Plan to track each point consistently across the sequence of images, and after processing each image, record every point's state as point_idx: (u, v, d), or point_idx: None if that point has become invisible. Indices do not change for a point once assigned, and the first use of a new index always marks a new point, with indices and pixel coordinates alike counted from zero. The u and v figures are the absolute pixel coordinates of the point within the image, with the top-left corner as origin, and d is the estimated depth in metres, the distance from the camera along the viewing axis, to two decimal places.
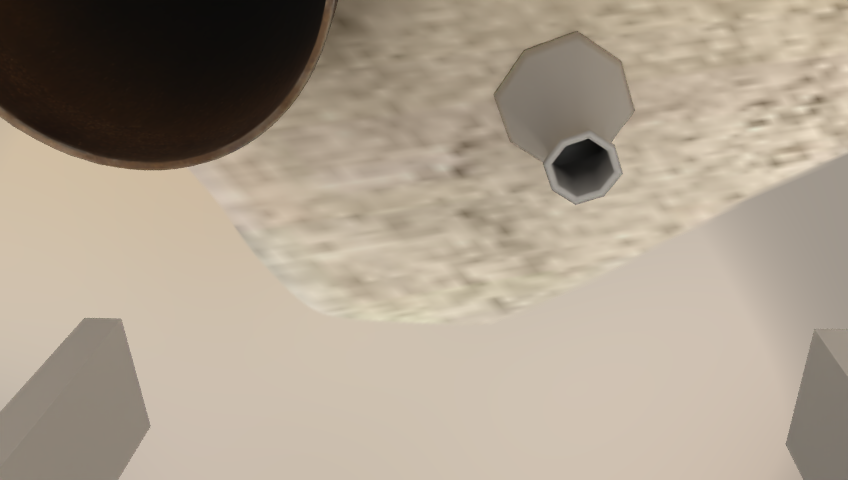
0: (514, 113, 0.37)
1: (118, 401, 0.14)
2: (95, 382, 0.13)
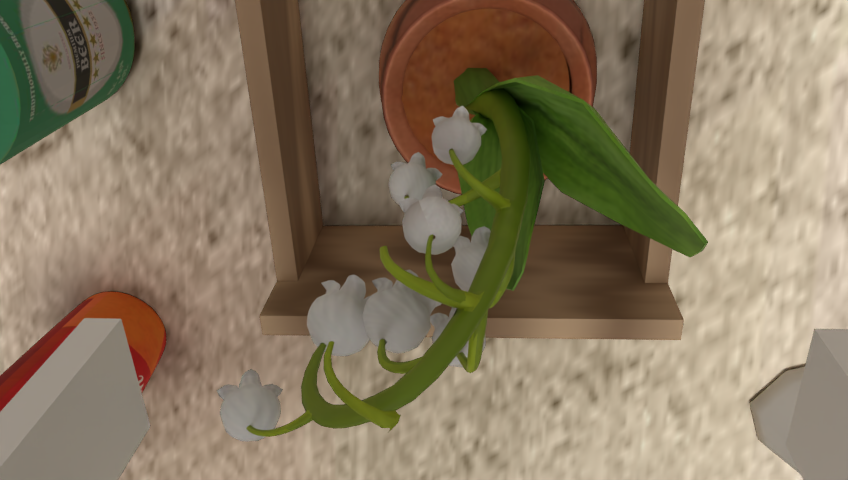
0: None
1: (118, 401, 0.14)
2: (95, 382, 0.13)
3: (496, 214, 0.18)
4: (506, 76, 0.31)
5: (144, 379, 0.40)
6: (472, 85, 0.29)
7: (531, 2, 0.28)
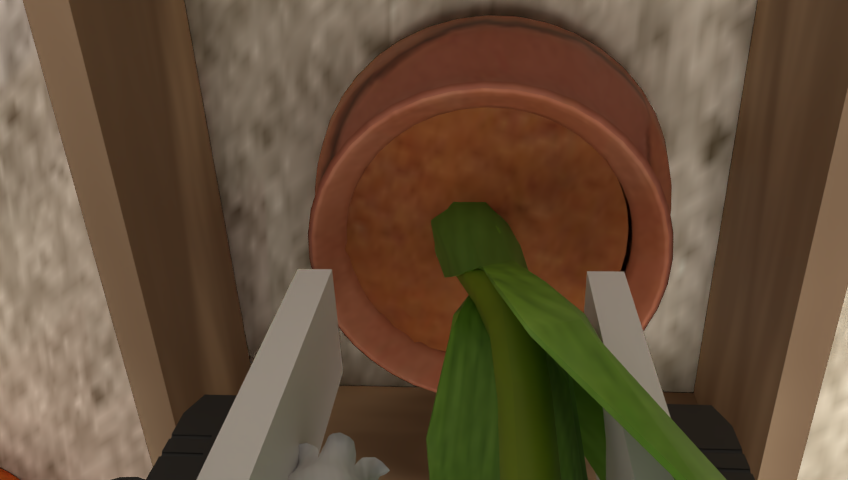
0: None
1: (331, 344, 0.15)
2: (321, 324, 0.15)
3: None
4: (519, 214, 0.18)
5: None
6: (458, 245, 0.16)
7: (564, 102, 0.16)
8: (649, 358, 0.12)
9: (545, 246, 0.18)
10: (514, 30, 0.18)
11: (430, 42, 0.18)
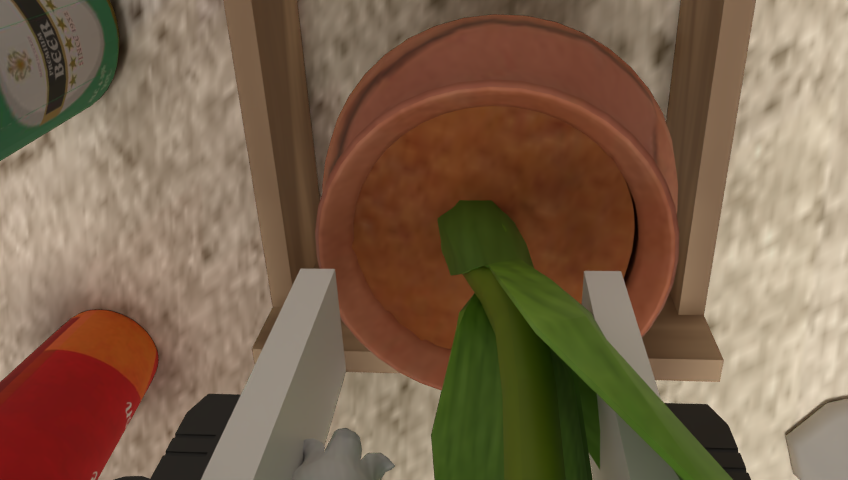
0: None
1: (334, 343, 0.15)
2: (324, 323, 0.15)
3: None
4: (526, 212, 0.18)
5: (133, 405, 0.38)
6: (464, 243, 0.17)
7: (570, 101, 0.16)
8: (645, 357, 0.12)
9: (551, 245, 0.18)
10: (521, 29, 0.18)
11: (437, 41, 0.18)
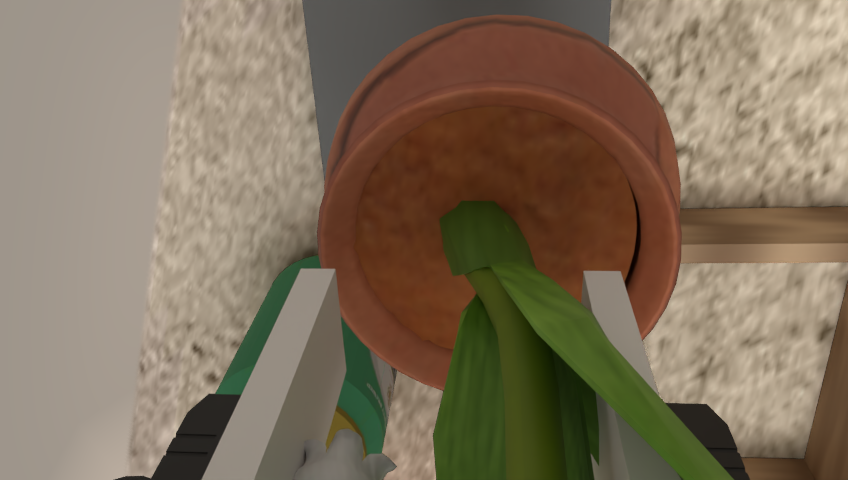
0: None
1: (334, 343, 0.15)
2: (325, 323, 0.15)
3: None
4: (527, 212, 0.18)
5: None
6: (466, 243, 0.17)
7: (573, 102, 0.16)
8: (644, 357, 0.12)
9: (553, 246, 0.18)
10: (524, 29, 0.18)
11: (439, 41, 0.18)
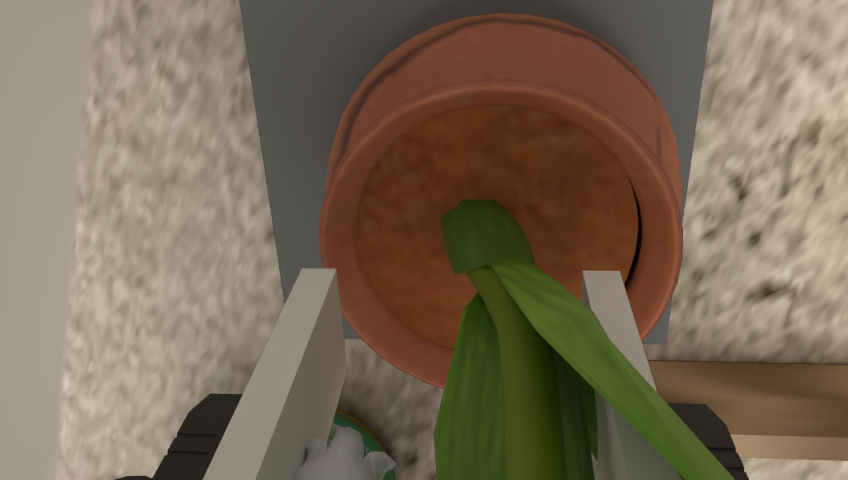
0: None
1: (335, 343, 0.15)
2: (326, 323, 0.15)
3: None
4: (529, 211, 0.18)
5: None
6: (467, 242, 0.17)
7: (573, 100, 0.16)
8: (643, 357, 0.12)
9: (554, 244, 0.18)
10: (525, 28, 0.18)
11: (441, 40, 0.18)
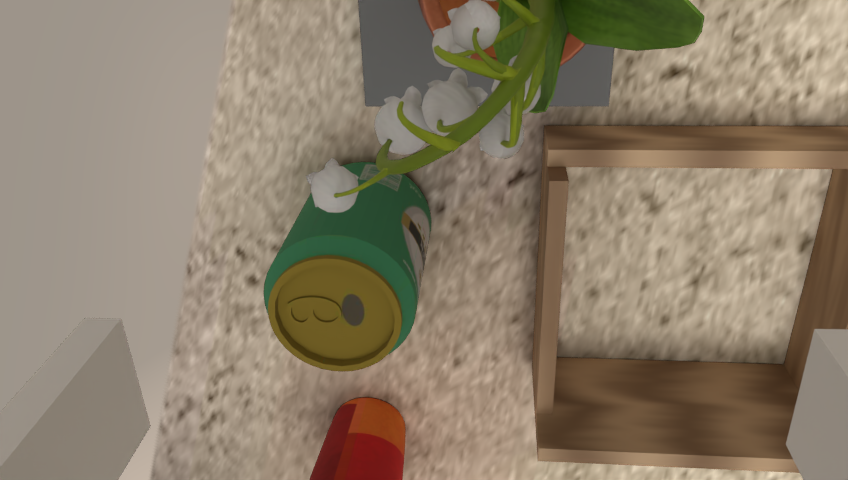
0: None
1: (118, 401, 0.14)
2: (95, 382, 0.13)
3: (528, 29, 0.22)
4: None
5: None
6: None
7: None
8: None
9: None
10: None
11: None
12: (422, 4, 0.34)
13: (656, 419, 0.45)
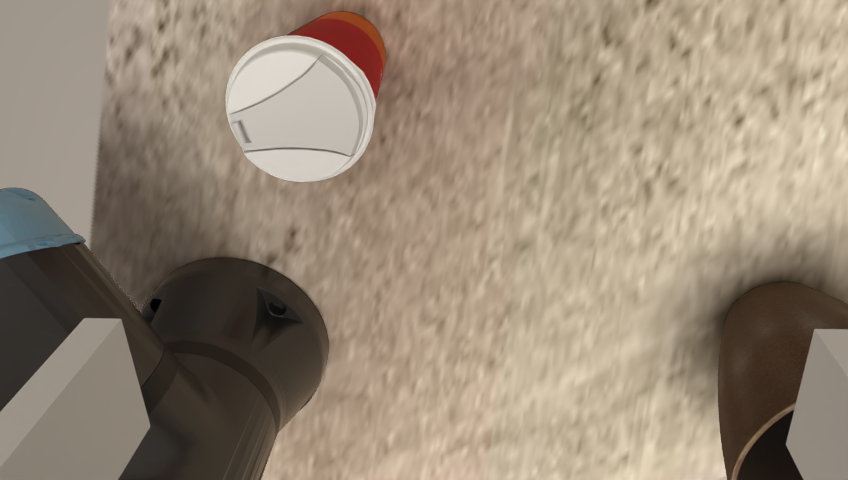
0: None
1: (118, 401, 0.14)
2: (95, 382, 0.13)
3: None
4: None
5: (381, 77, 0.45)
6: None
7: None
8: None
9: None
10: None
11: None
12: None
13: None
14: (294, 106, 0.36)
